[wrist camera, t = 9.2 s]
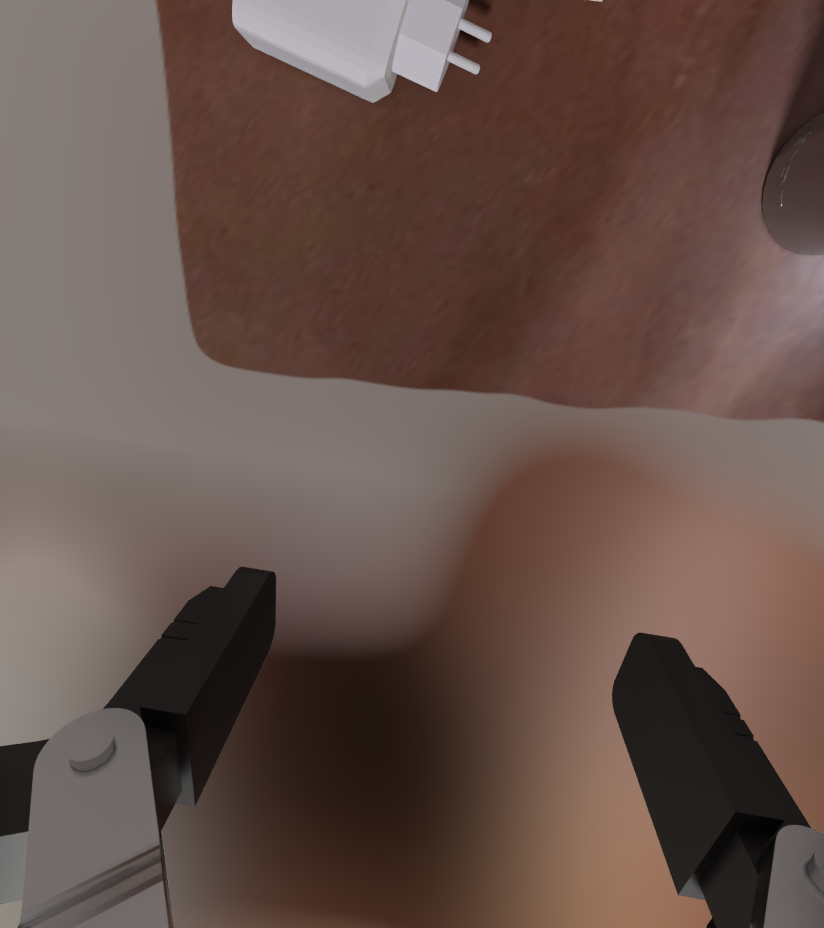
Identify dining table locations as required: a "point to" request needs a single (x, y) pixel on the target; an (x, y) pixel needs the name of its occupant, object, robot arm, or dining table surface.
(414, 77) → the charger
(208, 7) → the dining table surface
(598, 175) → the dining table surface
